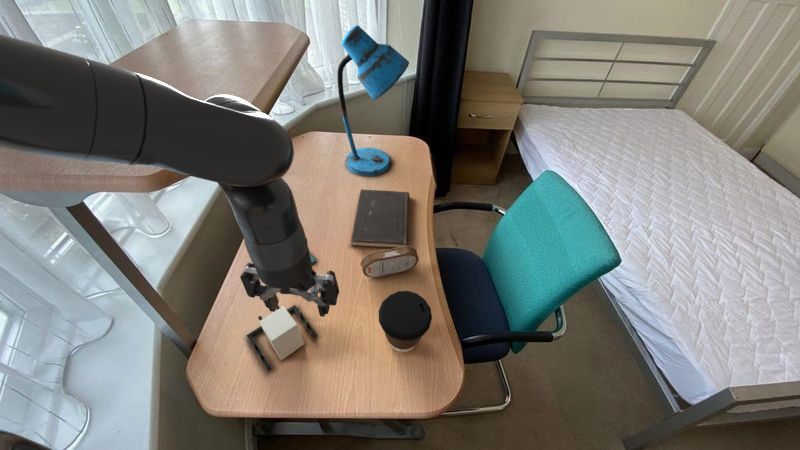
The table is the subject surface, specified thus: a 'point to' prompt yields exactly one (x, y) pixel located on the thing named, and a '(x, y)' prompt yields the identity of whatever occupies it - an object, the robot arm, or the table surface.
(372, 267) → the tin
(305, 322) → the rack
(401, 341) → the coffee cup
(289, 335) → the container
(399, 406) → the table surface
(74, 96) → the robot arm
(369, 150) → the desk lamp
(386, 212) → the hardcover book
